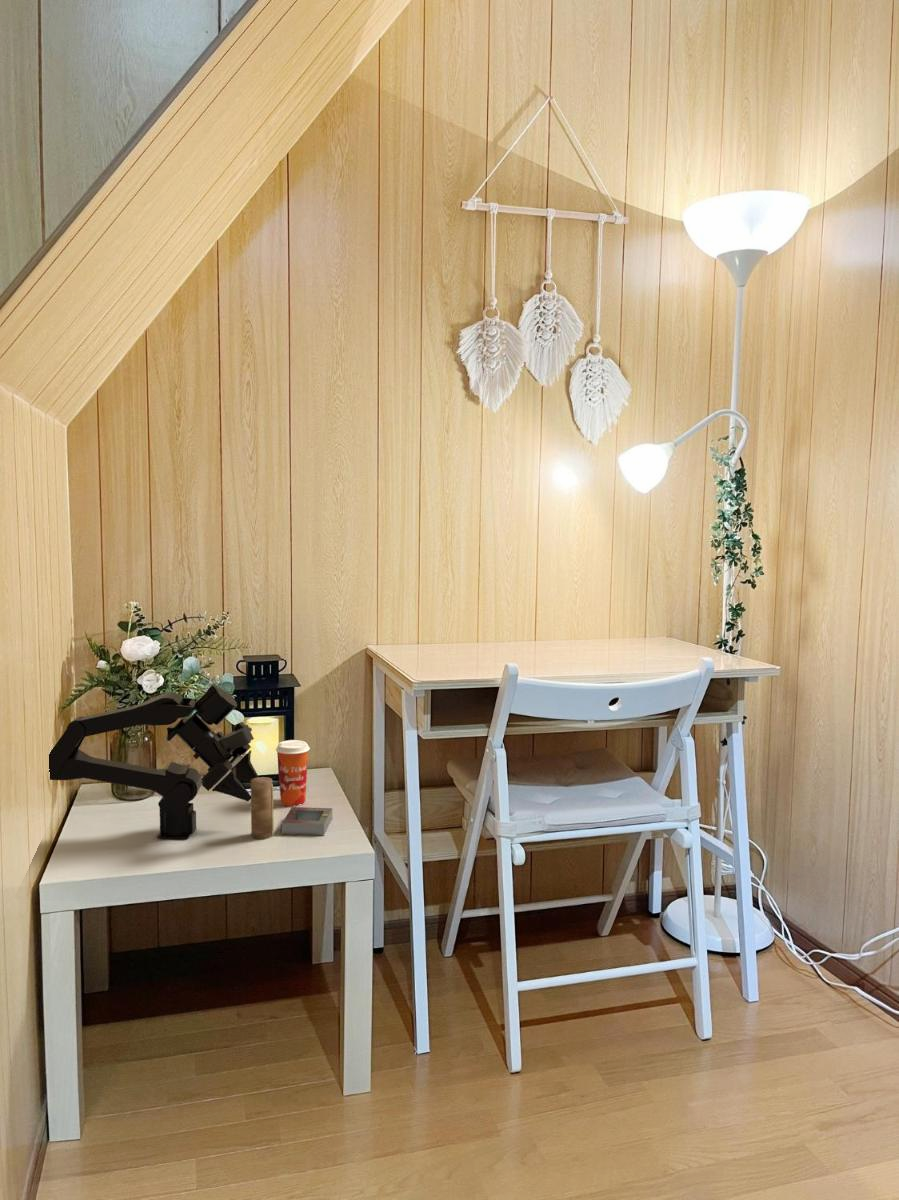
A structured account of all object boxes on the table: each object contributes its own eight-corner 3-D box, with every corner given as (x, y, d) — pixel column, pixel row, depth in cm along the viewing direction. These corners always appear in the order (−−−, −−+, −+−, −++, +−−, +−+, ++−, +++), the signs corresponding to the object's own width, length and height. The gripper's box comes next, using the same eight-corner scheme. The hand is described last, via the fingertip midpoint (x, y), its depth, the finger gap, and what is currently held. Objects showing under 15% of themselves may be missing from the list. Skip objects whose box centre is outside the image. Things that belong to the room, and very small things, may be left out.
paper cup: (277, 808, 215) (276, 749, 213) (275, 798, 222) (274, 740, 221) (311, 806, 217) (311, 747, 215) (308, 796, 224) (308, 738, 222)
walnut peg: (249, 839, 196) (248, 783, 195) (254, 831, 200) (253, 776, 199) (270, 839, 196) (269, 783, 194) (275, 832, 200) (274, 777, 199)
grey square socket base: (282, 834, 199) (281, 821, 199) (292, 818, 209) (292, 806, 209) (324, 835, 199) (324, 823, 198) (332, 819, 208) (332, 807, 208)
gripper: (216, 725, 186) (272, 780, 187) (240, 703, 205) (291, 754, 206) (177, 762, 188) (233, 817, 188) (205, 738, 206) (256, 788, 207)
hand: (255, 792), depth 197 cm, fingers open, 9 cm apart
